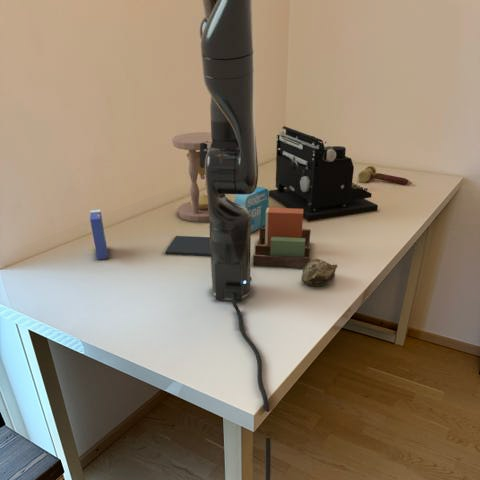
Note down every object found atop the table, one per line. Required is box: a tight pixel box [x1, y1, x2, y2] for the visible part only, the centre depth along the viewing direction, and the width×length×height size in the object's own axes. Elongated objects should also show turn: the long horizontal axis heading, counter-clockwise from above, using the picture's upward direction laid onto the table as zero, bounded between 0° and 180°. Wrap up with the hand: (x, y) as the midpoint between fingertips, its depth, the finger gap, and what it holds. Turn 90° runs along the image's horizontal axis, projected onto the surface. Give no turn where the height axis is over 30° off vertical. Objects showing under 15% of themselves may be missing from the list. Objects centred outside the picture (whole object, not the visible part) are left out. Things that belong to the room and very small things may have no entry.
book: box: [264, 207, 304, 245], centre depth 130 cm, size 4×10×12 cm, turn 82°
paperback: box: [270, 237, 306, 257], centre depth 124 cm, size 2×9×7 cm, turn 82°
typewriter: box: [268, 125, 379, 223], centre depth 163 cm, size 31×27×25 cm
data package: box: [233, 185, 270, 233], centre depth 145 cm, size 12×4×12 cm, turn 142°
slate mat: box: [164, 235, 211, 257], centre depth 136 cm, size 12×20×1 cm, turn 82°
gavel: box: [357, 165, 413, 186], centre depth 191 cm, size 21×5×10 cm
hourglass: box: [172, 131, 212, 223], centre depth 154 cm, size 18×18×25 cm
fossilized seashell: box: [301, 258, 338, 287], centre depth 116 cm, size 8×7×10 cm
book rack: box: [252, 227, 311, 269], centre depth 130 cm, size 17×15×4 cm
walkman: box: [89, 209, 109, 260], centre depth 129 cm, size 8×3×12 cm, turn 14°
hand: (228, 187), depth 116 cm, fingers open, 8 cm apart
